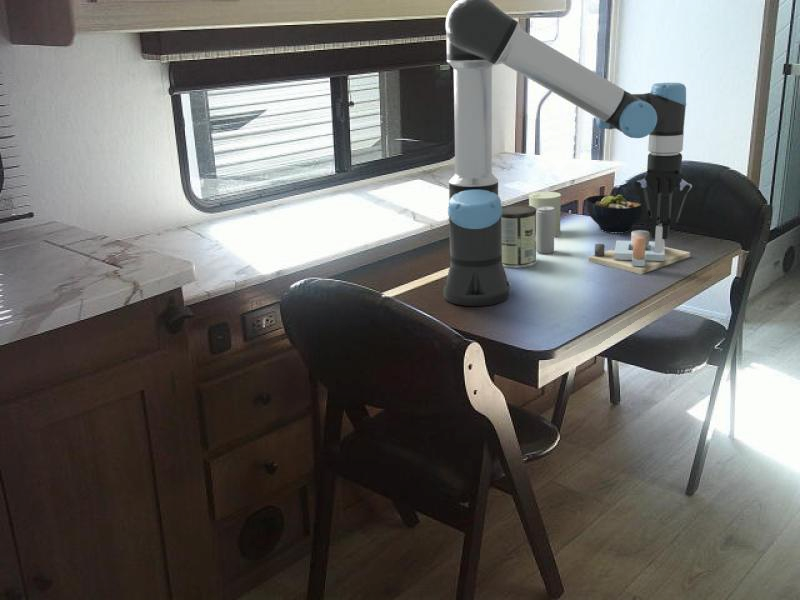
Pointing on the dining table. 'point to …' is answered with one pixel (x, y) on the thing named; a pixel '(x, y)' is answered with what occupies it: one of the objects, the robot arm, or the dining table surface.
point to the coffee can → (518, 236)
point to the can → (548, 200)
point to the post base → (609, 260)
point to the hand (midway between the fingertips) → (659, 251)
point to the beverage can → (545, 229)
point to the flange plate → (628, 252)
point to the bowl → (614, 212)
